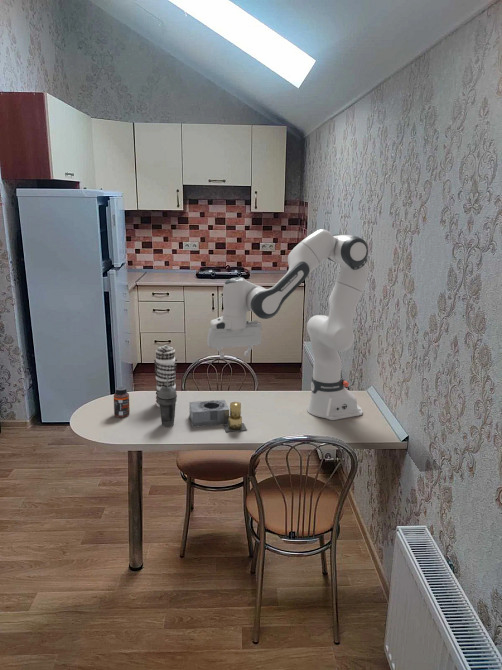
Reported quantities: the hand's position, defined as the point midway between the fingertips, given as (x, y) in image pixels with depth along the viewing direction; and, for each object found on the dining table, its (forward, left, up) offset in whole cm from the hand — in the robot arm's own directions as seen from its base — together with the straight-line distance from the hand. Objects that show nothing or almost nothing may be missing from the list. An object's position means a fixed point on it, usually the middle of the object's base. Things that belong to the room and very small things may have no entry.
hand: (234, 357), depth 196 cm
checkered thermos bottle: (+24, -22, -26) cm, 42 cm away
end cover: (+1, +6, -26) cm, 26 cm away
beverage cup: (+25, -2, -26) cm, 37 cm away
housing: (+9, -3, -26) cm, 28 cm away
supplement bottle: (+42, -14, -26) cm, 52 cm away
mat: (+1, +6, -26) cm, 27 cm away
